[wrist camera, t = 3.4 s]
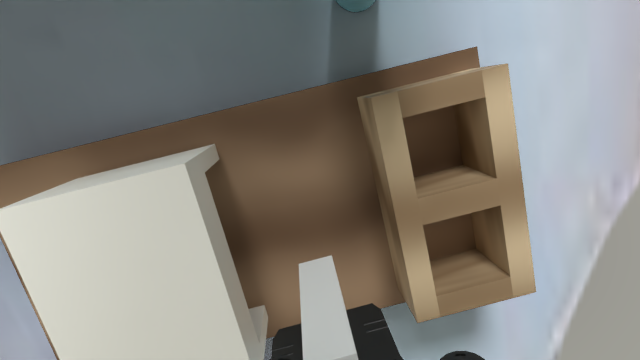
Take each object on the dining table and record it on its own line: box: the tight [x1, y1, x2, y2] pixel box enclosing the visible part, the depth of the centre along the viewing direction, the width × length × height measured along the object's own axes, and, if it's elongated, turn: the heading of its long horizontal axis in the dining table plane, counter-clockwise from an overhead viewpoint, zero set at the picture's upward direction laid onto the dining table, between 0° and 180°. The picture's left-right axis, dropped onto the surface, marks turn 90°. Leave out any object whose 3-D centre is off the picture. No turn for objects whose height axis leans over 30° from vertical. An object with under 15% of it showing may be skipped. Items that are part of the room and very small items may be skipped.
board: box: [0, 47, 536, 360], centre depth 20 cm, size 13×26×6 cm, turn 104°
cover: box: [0, 144, 268, 360], centre depth 18 cm, size 10×7×6 cm
